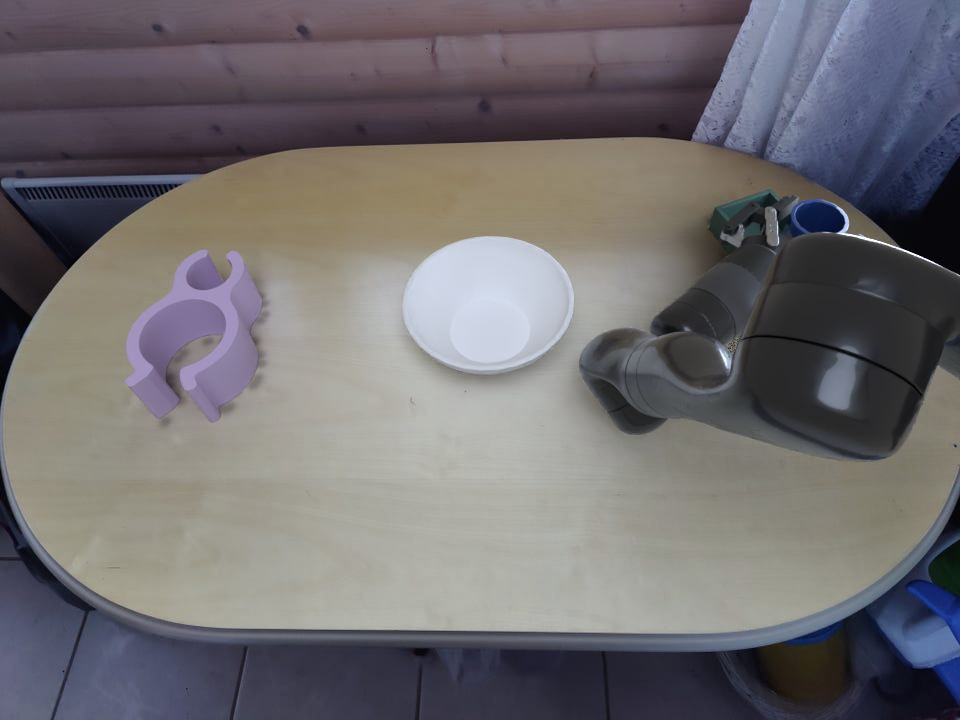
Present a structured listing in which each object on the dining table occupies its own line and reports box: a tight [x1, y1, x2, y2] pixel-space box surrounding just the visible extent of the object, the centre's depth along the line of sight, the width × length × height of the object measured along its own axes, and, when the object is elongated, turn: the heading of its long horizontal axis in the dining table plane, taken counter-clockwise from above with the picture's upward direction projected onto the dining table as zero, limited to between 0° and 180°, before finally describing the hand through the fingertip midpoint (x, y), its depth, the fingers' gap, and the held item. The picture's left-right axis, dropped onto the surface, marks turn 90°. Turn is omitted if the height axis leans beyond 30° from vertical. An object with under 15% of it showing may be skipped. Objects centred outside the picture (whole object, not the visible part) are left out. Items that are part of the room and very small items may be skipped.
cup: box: [781, 198, 850, 239], centre depth 80 cm, size 6×6×10 cm
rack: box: [708, 188, 790, 255], centre depth 85 cm, size 8×16×4 cm, turn 21°
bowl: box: [401, 235, 575, 376], centre depth 80 cm, size 20×20×7 cm
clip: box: [124, 248, 263, 423], centre depth 81 cm, size 20×12×7 cm, turn 174°
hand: (826, 220), depth 78 cm, fingers open, 8 cm apart
